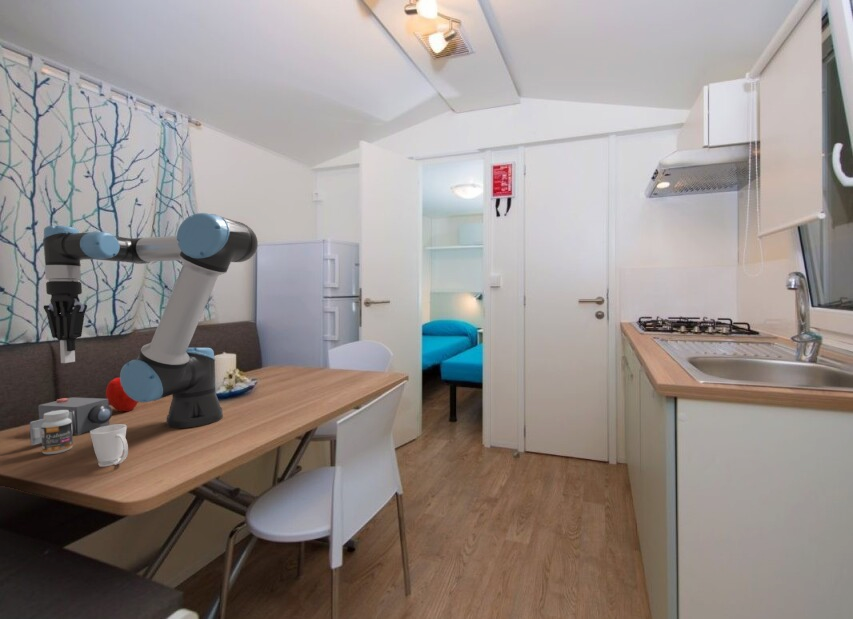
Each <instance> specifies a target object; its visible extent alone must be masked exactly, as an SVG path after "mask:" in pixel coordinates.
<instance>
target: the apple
mask: <svg viewBox="0 0 853 619" xmlns="http://www.w3.org/2000/svg"><path fill="white" fill-rule="evenodd" d="M105 399H108V404H109V405H111V407H113V408H114V409H115V410H116V411H118V412H130V411H132V410H134V409H135V407H136V406H137V404H138V403H139V402H138V401H135V400H133V399H131V398H130V397H129V396H128V395H127V394H126V393H125V391H124V390H123V387H122V385H121V382H120V377H115V378H114V379H111V380H110V381H109V382H108V384H107V386H106V389H105Z"/></svg>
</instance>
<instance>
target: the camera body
mask: <svg viewBox="0 0 853 619" xmlns="http://www.w3.org/2000/svg"><path fill="white" fill-rule="evenodd" d="M109 405H110V403H109V402H108V399H106V398H97V397H96V398H95V397H74V396H73V397H63V398H59V399H58V398H57V399H56V401H51V402H46V403H42V404H39V405H38V420H40V419H44V414H45V413H48V412H52V411H57V410H68V411H69V412H70V411H72V410H75V428H76V433H74V434H72V436H73V435H75V436H78V435H82V434H85V433H90V431H91V430H94V429H96V428H99V427H103V426H108V425H110V420H111V418H112V415H113V409H112V408H111V406H109Z"/></svg>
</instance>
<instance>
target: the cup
mask: <svg viewBox="0 0 853 619" xmlns="http://www.w3.org/2000/svg"><path fill="white" fill-rule="evenodd" d="M127 428H128V426H127V425H126V423H123V424H122V423H121V424H119V423H118V424H117V423H116V424H115V423H113V424H109V425H107V426H103V427H99V428H96V429H94V430H91V431H89V434H90V437H91V442H92V445H93V451H94V453H95V456H96V458H97V462H98V463H97V464H98V467H109V466H113V465H114V466H117V465H120V464H121V463H123V462H124V461H125V460H126V458H127V457H128V455H129V445H128V440H127V439H126V435H127V430H128V429H127Z"/></svg>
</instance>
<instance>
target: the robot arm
mask: <svg viewBox="0 0 853 619" xmlns="http://www.w3.org/2000/svg"><path fill="white" fill-rule="evenodd" d="M42 242H43V252H44V269H45V273H44V274H45V275H44V276H45V280H47V282H46V283H45V288H46V289H45V290H46V294H47V295H51V298H50V303H49V304H47V305H45V304H44V305H43V307H42V308H43V310H44V311H45V313H46V317H47V321H48V325H49V329H50V334H51V336H52V338H53V339H57V340H58V342H59V344H58V347H59V351H60V363H61V364H68V363H75V362H76V352H75V351H76V340H77V338H81V337H82V334H83V329H84V326H83V325H84V320H85V313H86V311H87V309H88V305H87V304H83V303H82V302H80V301H81V300H80V298H79V295H81V294H83V289H82V288H83V287H82V286H83V285H82V282H81V281H80V280H81V279H82V275H81V274H82V273H81V272H82V271H81V264H82V263H81V260H82V261H83V260H99V261H106V262H107V261H110V262H122V263H131V264H132V263H133V264H138V265H143V264H150V263H151V262H170V261H182V266H181V268H180V270H179V273H178V276H177V278H176V280H175V284H174V286H173V289H172V291H171V294H170V295H169V298H168V300H167V303H166V305H165V308H164V310H163V313H162V316H161V317H160V320H159V321H158V322H159V323H158V325H157V327H156V330H155V332H154V334H153V337H152V339H151V342H149V343H147V344H144V345H143V346H142V347H141V349H140V351H139V354H138V356H137V358H136V359H132V360H130V361H129V362H126V363H125V364H124V365H122V368H121V370H120V373H119V378H120V382H121V385H122V387H123V390H124V391H125V393H126V394H127V395H128V396H129V397H130V398H131V399H133V400H135V401H138V403H147V402H153V401H155V402H156V401H159V400H160V399H163V398H166V397H170V396H172V399H171V402H170V407H169V410H168V414H167V415H166V426H167V427H169V428H173V429H174V428H175V429H185V428H195V427H201V426H205V425H209V424H211V423H214V422H217V421H219V420H221V419H222V418H223V416H224V413H223V412H224V411H223V408H222V406H221V405H220V404H221V403H220V401H219V399H218V396H217V391H216V368H215V367H216V364H215V363H216V359H215V351H214V350H213V349H212V348H211V347H189V346H190V344H191V342H192V339H193V336H194V334H195V332H196V329H197V327H198V324H199V322H200V320H201V317H202V315H203V313H204V310H205V308H206V306H207V303H208V302H209V299H210V296H211V294H212V291H213V288H214V286H215V285H216V282H217V281H218V277H219V276H222V275H223V274H224V275H225V274H226V273H227V272H228V270H229V268H230V265H231V263H243V262H246V261H248V260H250V259H251V258H252V257H253V256H254V255H255V254H256V252H257V250H258V243H259V242H258V237H257V235H256V233H255V232H254V230H253V229H252V228H251V227H250V226H248V225H247V224H246V223H243V222H241V221H237V220H232V219H230V218H226V217H224V216H221V215H220V216H219V215H217V214H213V213H205V212H199V213H194V214H191V215H190V216H187V217H186V218H185V219H184V220H183V221H182V222H181V223H180V225H179V227H178V229H177V232H176V235H167V236H150V237H136V238H130V237H122V236H117V235H113V234H112V233H110V232H107V231H94V230H93V231H90V232H80V231H79V229H78V228H76V227H73V226H65V225H47V226H46V227H44V228H43V239H42Z"/></svg>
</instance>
